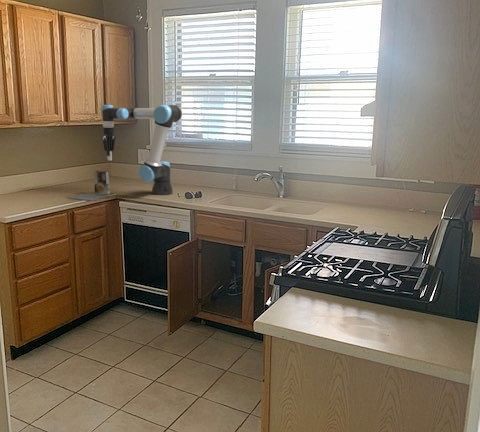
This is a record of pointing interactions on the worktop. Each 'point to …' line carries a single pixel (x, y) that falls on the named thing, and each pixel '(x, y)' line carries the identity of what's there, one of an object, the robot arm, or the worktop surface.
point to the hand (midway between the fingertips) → (109, 160)
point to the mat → (88, 197)
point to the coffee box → (101, 182)
